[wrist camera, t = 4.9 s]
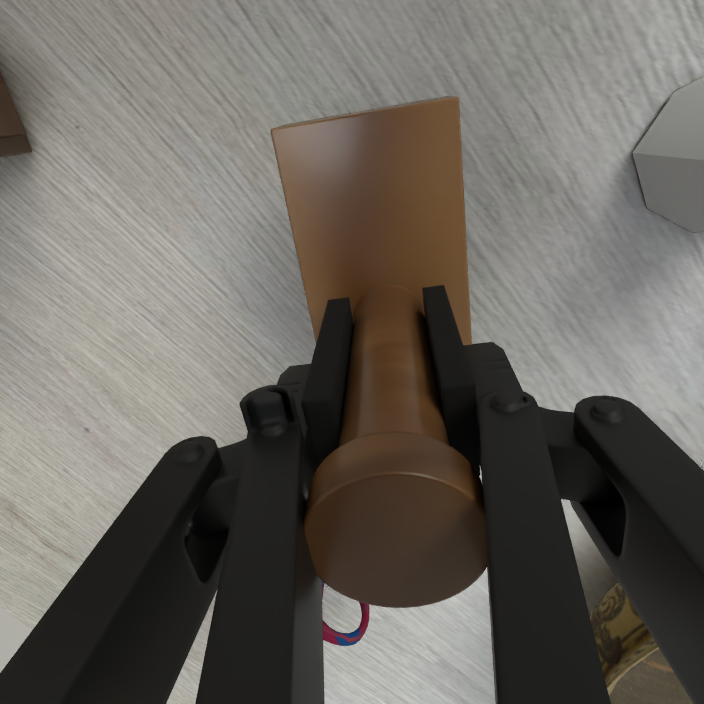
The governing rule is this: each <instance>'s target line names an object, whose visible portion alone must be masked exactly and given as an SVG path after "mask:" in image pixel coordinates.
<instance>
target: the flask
mask: <svg viewBox="0 0 704 704" xmlns="http://www.w3.org/2000/svg"><path fill="white" fill-rule="evenodd" d="M633 157H634V160H635V164H636V168H637V172H638V175H639V179H640V183H641V187H642V191H643V194H644V198H645V202H646V206H647V208H648V209H650V210H652V211H654V212H656V213H657V214H659V215H661V216H663V217H665V218H667V219H668V220H670V221H672V222H674V223H676V224H678V225H679V226H681V227H683V228H685V229H687V230H689V231H690V232H692V233H697V232H703V231H704V77H702V78H700V79H698V80H696V81H694V82H692V83H690V84H688V85H686V86H684V87H682V88H680V89H678V90H676V91H675V92H674V94H673V95H672V96H671V98H670V99H669V101H668V102H667V104H666V105H665V107H664V108H663V109H662V111H661V112H660V114H659V115H658V117H657V118H656V120H655V121H654V123H653V124H652V125H651V127H650V128H649V130H648V131H647V133H646V134H645V136H644V137H643V138H642V140H641V141H640V143H639V144H638V146H637V147H636V149H635V150H634V151H633Z"/></svg>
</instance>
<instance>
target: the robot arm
mask: <svg viewBox="0 0 704 704" xmlns="http://www.w3.org/2000/svg"><path fill="white" fill-rule="evenodd" d="M422 292H423V302H424V312H425V320H426V326H427V331H428V336H429V342H430V347H431V352H432V358H433V363H434V368H435V374H436V379H437V384H438V390H439V395H440V401H441V406H442V411H443V417H444V422H445V427H446V430H447V436H448V441H449V446H451V447H452V448H454V449H455V450H457V451H458V452H459V453H461V454H462V455H463V456H464V457H465V458H466V459H467V460H468V461H469V462H470V463H471V465H472V466H473V467H474V469H475V470H476V472H477V473H478V475H479V476H480V467H481V471H482V486H483V493H484V506H485V525H486V546H487V571H488V587H489V604H490V620H491V636H492V653H493V669H494V685H495V701H496V704H611V702H610V698H609V694H608V690H607V685H606V681H605V677H604V673H603V669H602V665H601V661H600V657H599V653H598V649H597V645H596V641H595V637H594V633H593V629H592V625H591V620H590V616H589V612H588V608H587V604H586V600H585V596H584V592H583V588H582V584H581V580H580V576H579V572H578V568H577V564H576V560H575V555H574V551H573V547H572V543H571V539H570V535H569V531H568V527H567V523H566V519H565V515H564V511H563V507H562V503H561V499H566V500H570V502H571V505H572V507H573V509H574V511H575V512H576V514H577V516H578V517H579V519H580V520H581V522H582V524H583V525H584V527H585V529H586V530H587V532H588V533H589V535H590V537H591V538H592V540H593V542H594V543H595V545H596V546H597V548H598V550H599V551H600V553H601V555H602V556H603V558H604V559H605V561H606V563H607V564H608V566H609V568H610V569H611V571H612V572H613V574H614V576H615V577H616V579H617V581H618V582H619V584H620V585H621V587H622V589H623V590H624V592H625V593H626V595H627V597H628V598H629V600H630V602H631V603H632V605H633V606H634V608H635V610H636V611H637V613H638V615H639V616H640V618H641V619H642V621H643V623H644V624H645V626H646V628H647V629H648V631H649V632H650V634H651V636H652V637H653V639H654V641H655V642H656V644H657V645H658V647H659V649H660V650H661V652H662V654H663V655H664V657H665V658H666V660H667V662H668V663H669V665H670V667H671V668H672V670H673V671H674V673H675V675H676V676H677V678H678V680H679V681H680V683H681V684H682V686H683V688H684V689H685V691H686V693H687V694H688V696H689V697H690V699H691V701H692V702H693V704H704V471H703V470H702V469H701V468H700V467H699V466H698V465H697V464H696V463H695V462H694V461H693V460H692V459H691V458H690V457H689V456H688V455H687V454H686V453H685V452H684V451H683V450H682V449H681V448H680V447H678V446H677V445H676V444H675V443H674V442H673V441H672V440H671V439H670V438H669V437H668V436H667V435H666V434H665V433H664V432H663V431H662V430H661V429H660V428H659V427H658V426H657V425H656V424H655V423H654V422H653V421H652V420H651V419H650V418H649V417H647V416H646V415H645V414H644V413H643V412H642V411H641V410H640V409H639V408H638V407H637V406H635V405H634V404H632V403H631V402H629V401H626V400H624V399H621V398H618V397H613V396H592V397H589V398H585V399H582V400H581V401H580V402H578V403H577V404H576V407H575V410H574V413H573V412H563V411H555V410H549V409H545V408H542V407H539V406H538V405H537V402H536V401H535V399H534V397H532V396H531V395H529V394H528V393H526V392H523V390H522V388H521V386H520V384H519V382H518V380H517V377H516V375H515V373H514V371H513V369H512V368H511V365H510V362H509V360H508V358H507V356H506V354H505V352H504V350H503V349H502V348H501V347H499V346H498V345H496V344H495V343H493V342H489V343H480V344H471V345H463V343H462V340H461V337H460V334H459V330H458V327H457V324H456V321H455V318H454V315H453V312H452V308H451V305H450V302H449V299H448V296H447V293H446V289H445V286H444V285H439V286H432V287H424V288H422ZM353 327H354V324H353V318H352V312H351V306H350V301H349V297H346V298H338V299H331V300H328V302H327V305H326V309H325V313H324V317H323V320H322V324H321V328H320V332H319V336H318V339H317V343H316V347H315V351H314V355H313V358H312V362H311V364H305V365H297V366H289V367H288V368H287V369H286V370H285V371H284V372H283V373H282V374H281V375H280V377H279V380H278V383H277V385H269V386H265V387H261V388H258V389H256V390H254V391H252V392H250V393H248V394H247V395H246V396H245V397H244V398H243V399H242V400H241V402H240V404H239V405H240V408H241V411H242V414H243V417H244V420H245V424H246V427H247V430H248V434H247V438H246V439H244V440H242V441H240V442H237V443H234V444H231V445H228V446H224V447H221V448H217V445H216V442H215V440H213V439H212V438H210V437H205V436H198V437H192V438H188V439H185V440H183V441H181V442H179V443H178V444H176V445H174V446H173V447H171V448H170V449H169V450H168V451H167V452H166V453H165V454H164V456H163V457H162V458H161V460H160V461H159V462H158V464H157V465H156V466H155V468H154V469H153V470H152V472H151V473H150V474H149V476H148V477H147V478H146V480H145V481H144V482H143V484H142V485H141V486H140V488H139V489H138V490H137V492H136V493H135V494H134V496H133V497H132V498H131V500H130V501H129V502H128V504H127V505H126V506H125V508H124V509H123V510H122V512H121V513H120V514H119V516H118V517H117V518H116V520H115V521H114V522H113V524H112V525H111V526H110V528H109V529H108V530H107V532H106V533H105V534H104V536H103V537H102V538H101V540H100V541H99V542H98V544H97V545H96V546H95V548H94V549H93V550H92V552H91V553H90V554H89V556H88V557H87V558H86V560H85V561H84V562H83V564H82V565H81V566H80V568H79V569H78V570H77V572H76V573H75V574H74V576H73V577H72V578H71V580H70V581H69V582H68V584H67V585H66V586H65V588H64V589H63V590H62V592H61V593H60V594H59V596H58V597H57V598H56V600H55V601H54V602H53V604H52V605H51V606H50V608H49V609H48V610H47V612H46V613H45V614H44V616H43V617H42V618H41V620H40V621H39V622H38V624H37V625H36V626H35V628H34V629H33V630H32V632H31V633H30V635H29V636H28V637H27V638H26V640H25V641H24V643H23V644H22V645H21V646H20V648H19V649H18V651H17V652H16V653H15V655H14V656H13V657H12V658H11V660H10V661H9V662H8V664H7V665H6V666H5V668H4V669H3V670H2V672H1V673H0V704H166V702H167V700H168V698H169V696H170V694H171V691H172V689H173V687H174V685H175V682H176V680H177V678H178V676H179V673H180V671H181V669H182V667H183V664H184V662H185V660H186V658H187V656H188V653H189V651H190V649H191V647H192V644H193V642H194V640H195V638H196V635H197V633H198V631H199V629H200V626H201V624H202V622H203V620H204V618H205V615H206V613H207V611H208V609H209V606H210V604H211V602H212V600H213V597H214V595H215V593H216V591H217V595H216V600H215V605H214V610H213V615H212V621H211V626H210V631H209V636H208V641H207V647H206V652H205V657H204V662H203V667H202V672H201V678H200V683H199V688H198V693H197V698H196V704H324V663H323V619H322V580H321V579H320V578H319V577H318V576H317V574H316V571H315V568H314V564H313V561H312V557H311V554H310V550H309V547H308V543H307V540H306V536H305V532H304V528H303V520H304V514H305V509H306V503H307V498H308V492H309V487H310V483H311V480H312V477H313V475H314V473H315V472H316V470H317V468H318V467H319V465H320V464H321V463H322V462H323V460H324V459H325V458H326V457H328V456H329V455H330V454H331V453H332V452H333V451H335V450H336V449H337V448H339V440H340V432H341V424H342V416H343V408H344V400H345V392H346V383H347V375H348V367H349V359H350V351H351V343H352V335H353ZM217 588H218V590H217Z"/></svg>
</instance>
